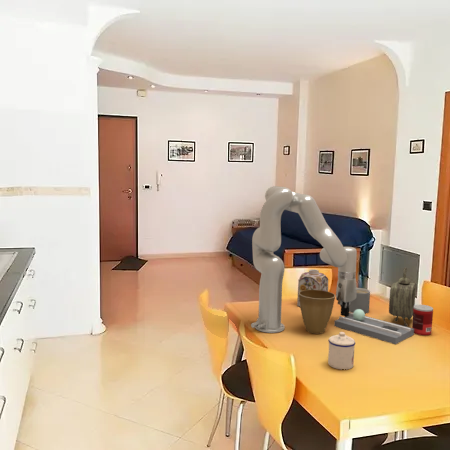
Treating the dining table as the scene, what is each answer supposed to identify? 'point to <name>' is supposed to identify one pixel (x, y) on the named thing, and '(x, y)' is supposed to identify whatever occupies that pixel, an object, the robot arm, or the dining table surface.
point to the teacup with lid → (341, 351)
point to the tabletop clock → (402, 298)
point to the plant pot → (316, 309)
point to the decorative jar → (312, 282)
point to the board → (375, 328)
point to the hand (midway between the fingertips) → (344, 315)
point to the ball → (358, 314)
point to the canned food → (422, 319)
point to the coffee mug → (361, 301)
